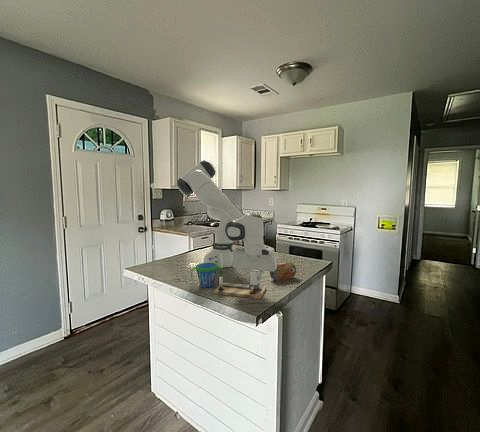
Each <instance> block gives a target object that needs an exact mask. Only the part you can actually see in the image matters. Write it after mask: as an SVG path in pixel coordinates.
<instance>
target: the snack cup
mask: <svg viewBox="0 0 480 432" xmlns="http://www.w3.org/2000/svg"><path fill="white" fill-rule="evenodd" d="M200 263H201V262H200ZM200 263H199V264H197V265H196V266H194V267H193V268H192V269H191V271H190V276H191V277H190V278H191V281H193V280H194V279H193V272H194V270H196V273H197V277H198V282H199V287H201V288H205V289H206V288H212V287H214V286H215V285H216V279H217V271H218V269H220V273H221V276H220V277H224V271H223V268H221V267H220V266H219V265H217V264H216V263H201V264H200ZM218 267H219V268H218Z"/></svg>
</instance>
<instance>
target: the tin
mask: <svg viewBox="0 0 480 432" xmlns="http://www.w3.org/2000/svg"><path fill="white" fill-rule="evenodd" d="M296 274H297V268H296V265H295V264H294V263H292V262H281V263H277V269H276V270H275V271H274V272H272V271H269V276H270V278H271V279H272V280H274V281H276V282H279V281H284V280H290V279H293V278H294V277H295V276H296Z"/></svg>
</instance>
